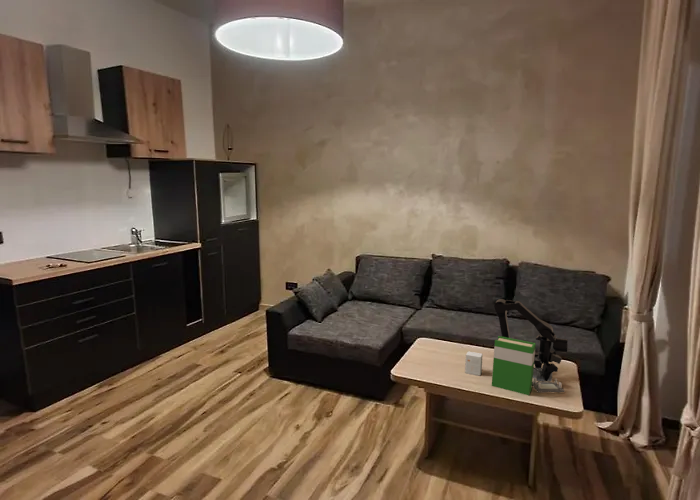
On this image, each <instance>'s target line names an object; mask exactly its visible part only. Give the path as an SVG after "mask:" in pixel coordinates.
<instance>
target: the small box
mask: <svg viewBox="0 0 700 500" xmlns="http://www.w3.org/2000/svg"><path fill="white" fill-rule="evenodd" d="M482 369H483V353H481V352H475V351H467V352H466V354H465V367H464V373H465V374H469V375H473V376H477V377H478V376H479V377H481V374H482Z"/></svg>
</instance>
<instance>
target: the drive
mask: <svg viewBox="0 0 700 500" xmlns="http://www.w3.org/2000/svg"><path fill="white" fill-rule="evenodd" d="M542 369H543V367H541V368H535V367H534V369H533V379H534V378H537V382H553V373H554V372H552V373H551V375H550V377H549V379H548V380H547V381H545V380H544V376H543V372H542Z"/></svg>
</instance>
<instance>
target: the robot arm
mask: <svg viewBox="0 0 700 500" xmlns="http://www.w3.org/2000/svg"><path fill="white" fill-rule="evenodd" d="M493 305H494V306H493V308H494V311H495V314H496V316H497V317H498V321H499V327H500V333H501V337H507V338H511V334H510V329H509V328H510V327H509V321H508V317H507V315H508V314H507V313H508V311H516V312H518V313H519V314H520V315H522V317H524V319H526V320H527V321H528V322H529V323H530V324H531V325H532V326H534V328H535V329H536V330H537V332H538V335H537V336H536V337H535V340H536V341H539V342H538V345H539V346H538V348H536V351H535V357H534V368H543V369H542V372H543V376H544V380H545V381H544V382H548V381H547V380H548V379H549V377H550V375H551V373H552V372H553V373H557V372H558V370H559V368H558V366H557V365H555V364H554V363H557V364H559V365H560V364H561V362H562V360H563V358H562V357H561V356H560V355H558V354H557V352H560V353H563V354H564V353H565V354H567V353H568V346H569V345H568V342H569V340H568V338H559V337H557V335H556V334H555V332H554V328H553V326H552V325H551V324H549V323H548V322H546V321H544V320H542V319H540V318H539V317H538V316H537V315H536V314H534V313H533V312H532V311H531V310H530V309H529V308H528V307H526V306H525V305H524V304H523V303H522V302H521V301H519V300H511V299H510V300H508V299H506V300H505V299H503V298H499V299H497V300H496V301H495V303H494V304H493ZM553 362H554V363H553ZM553 373H552V374H553Z"/></svg>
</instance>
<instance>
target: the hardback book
mask: <svg viewBox="0 0 700 500" xmlns="http://www.w3.org/2000/svg"><path fill="white" fill-rule="evenodd" d="M536 344H537V343H536V342H531V341H527V340H521V339H516V338H512V337H510V338H507V337H502V335H501V336H500V335H498V336H497V339H495V340H494V348H493V361H492V372H491V374H492V376H491V387H494V388H498V389H502V390H506V391H510V392H514V393H517V394H521V395H526V396H530V394H531V392H532V390H533V389H532V388H533V386H532V382H533V381H534V378H533V369H534V368H535V365H534V357H535V352H536Z"/></svg>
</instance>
